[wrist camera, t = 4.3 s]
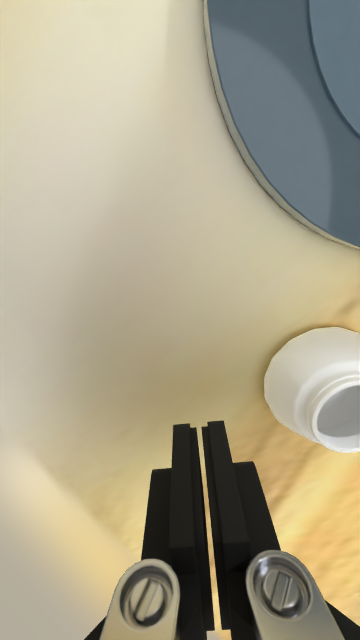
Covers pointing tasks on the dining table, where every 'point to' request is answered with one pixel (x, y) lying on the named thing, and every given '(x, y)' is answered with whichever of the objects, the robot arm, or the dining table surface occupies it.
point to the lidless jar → (318, 387)
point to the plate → (294, 102)
